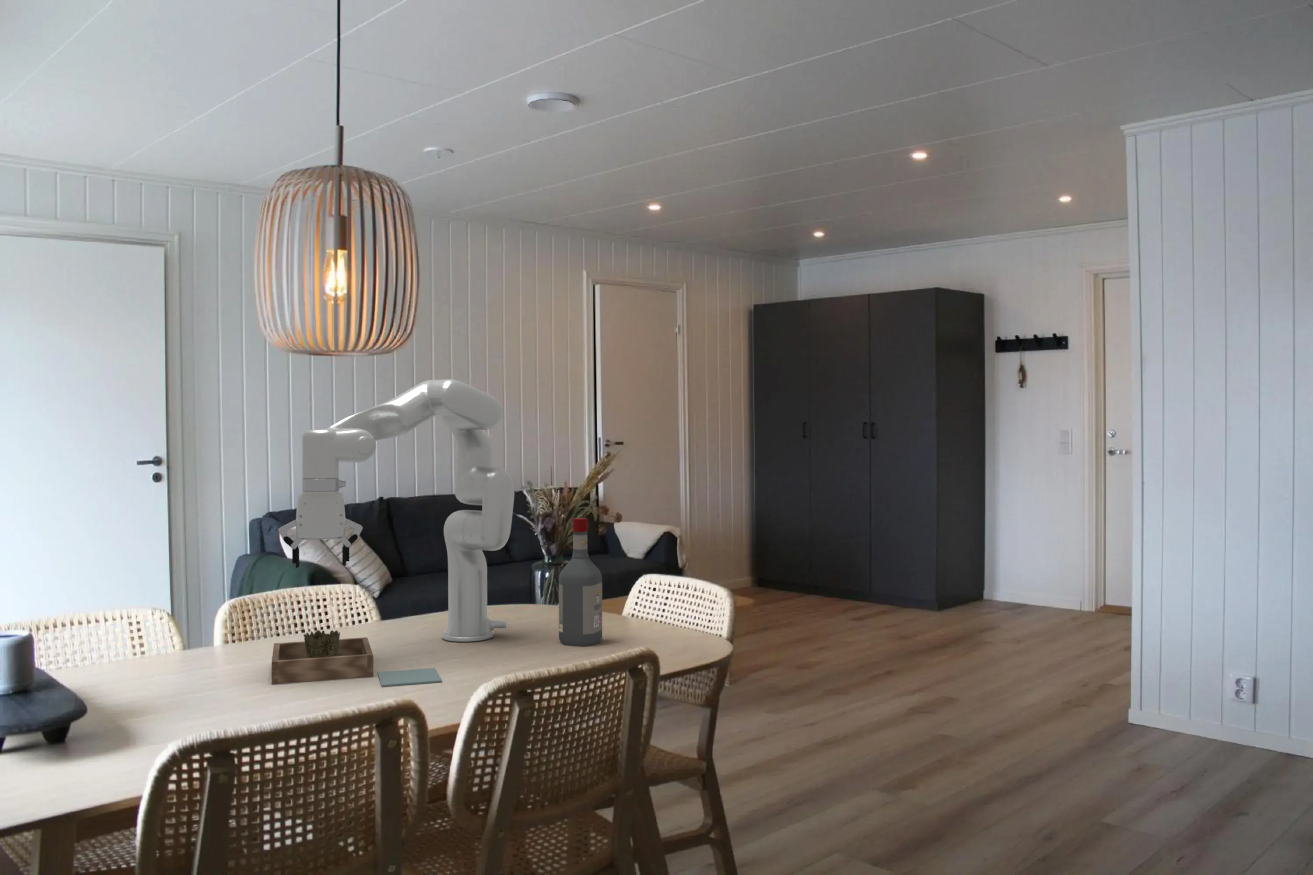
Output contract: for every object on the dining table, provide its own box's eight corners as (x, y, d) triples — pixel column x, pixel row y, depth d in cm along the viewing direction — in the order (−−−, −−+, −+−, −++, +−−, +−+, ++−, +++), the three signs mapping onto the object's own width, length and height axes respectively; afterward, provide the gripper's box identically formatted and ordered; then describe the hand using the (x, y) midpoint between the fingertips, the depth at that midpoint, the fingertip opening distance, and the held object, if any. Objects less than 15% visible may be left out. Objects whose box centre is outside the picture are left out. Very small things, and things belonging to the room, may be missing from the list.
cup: (345, 666, 231) (345, 629, 231) (332, 674, 223) (331, 636, 223) (312, 665, 231) (312, 629, 231) (298, 673, 224) (297, 635, 224)
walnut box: (367, 656, 240) (367, 637, 240) (373, 676, 221) (373, 654, 221) (274, 663, 234) (273, 643, 234) (271, 684, 215) (271, 661, 215)
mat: (435, 669, 227) (435, 667, 227) (442, 682, 216) (442, 680, 216) (377, 673, 223) (377, 671, 223) (381, 686, 212) (381, 684, 212)
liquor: (605, 639, 259) (604, 517, 259) (590, 647, 250) (590, 520, 250) (571, 637, 262) (570, 516, 262) (555, 644, 253) (555, 519, 253)
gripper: (361, 485, 234) (361, 562, 234) (278, 486, 228) (278, 565, 228) (363, 486, 226) (363, 566, 227) (277, 488, 221) (277, 569, 221)
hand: (321, 565), depth 227 cm, fingers open, 9 cm apart
